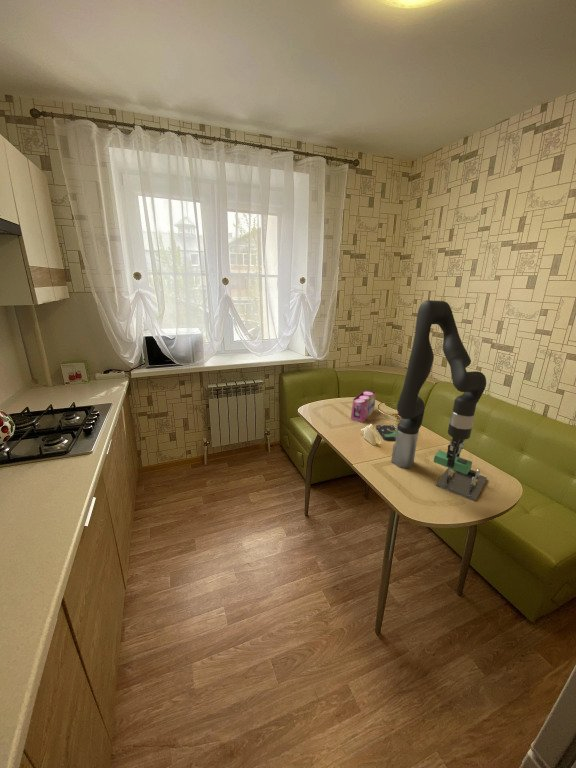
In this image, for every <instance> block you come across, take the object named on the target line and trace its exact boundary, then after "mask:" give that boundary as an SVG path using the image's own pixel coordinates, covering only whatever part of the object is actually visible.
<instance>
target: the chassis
mask: <svg viewBox="0 0 576 768" xmlns="http://www.w3.org/2000/svg"><path fill="white" fill-rule="evenodd" d="M480 473H481V469H479V468H477V469H476V470H473V469H472V468H471V469H470V471H469V472H468V474H467V475H466V474H464V473H461V472H459V471H456V470H453V469H451V468H448V467H447V469H445V471H444V472H443V474H442V475H441V477H440V478H439V479H438V481H436V483H435V486H436V487H438V488H441V489H444V490H446V491H449V492H451V493H453V494H455V495H458V496H461V497H463V498H466V499H469V500H471V501H473V502H476V501H477V499H478V497H479V495H480V494H481V491H482V489H483V487H484V485H485V483H486V481H487V479H488V477H486V476H484V475H481V474H480Z"/></svg>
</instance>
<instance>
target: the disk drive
mask: <svg viewBox="0 0 576 768" xmlns="http://www.w3.org/2000/svg"><path fill="white" fill-rule="evenodd" d="M375 429H376V431H377V430H378V431H377V432H378V434H379V435H380V436H381V438H382V439H383V440H384V441H396V434H397V431H396V430H395V429H397V428H396V427H395V425H393V424H392V425H391V424H389V425H386V424H385V425H379V424H378V425H376V427H375Z"/></svg>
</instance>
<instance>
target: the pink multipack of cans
mask: <svg viewBox="0 0 576 768" xmlns="http://www.w3.org/2000/svg"><path fill="white" fill-rule="evenodd" d="M376 396H377V392H376V391H372V390H367V389H364V390H363V391H362V392H361V393H359V394H358V395H357V396H355V397H354V398H353V399H352V406H351V414H350V420H351V419H352V420H351V421H355V420H356V421H357V422H360V423H363V422H364V421H366V420H367V419H368V417H369V416H371V415H372V414H373V413H374V412H375V405H376ZM373 411H374V412H373ZM372 412H373V413H372ZM371 413H372V414H371ZM356 421H355V422H356Z"/></svg>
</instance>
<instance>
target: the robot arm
mask: <svg viewBox="0 0 576 768" xmlns="http://www.w3.org/2000/svg"><path fill="white" fill-rule="evenodd" d="M415 322H416V323H415V329H414V336H413V337H414V338H413V342H412V347H411V351H410V356H409V360H408V364H407V370H406V372H405V373H406V374H405V377H404V381H403V386H402V389H401V393H400V396H399V399H398V401H397V404H396V411H397V414H398V415H399V417H400V418H401V419H400V421H399V422H398V423H397V428H396V429H397V434H396V440H395V442H394V443H393V446H392V453H391V460H390V461H391V462H392V463H394V465H395V466H397V467H399V468H404V469H409V468H413V466H414V462H415V457H416V451H417V443H418V438H419V433H420V428H421V426H422V424H423V419H424V415H425V410H426V409H425V402H424V401H423V399H422V397H420V396H419V393H420V391H421V389H422V387H423V385H424V384H425V382H426V381H427V379H428V377H429V375H430V373H431V370H432V367H433V363H434V358H435V356H434V350H433V348H432V345H431V341H430V340H431V339H430V334H431V329H432V325H438V326H439V328H440V330H441V331H442V334H443V341H442V350H443V355H444V356H445V358H446V361H447V363H448V365H449V367H450V375H451V381H452V384H453V385H452V386H454V388H455V390H457V391H459V392H460V393H461V392H462V394H460V395H458V396H455V397H456V398H455V399H454V402H453V407H452V413H451V415H450V418H449V424H448V429H447V434H448V435H449V436H450V437H451V438H452V439H450V440H449V444H448V445H447V451H446V453H447V456H446V457H447V458H448V462H447V466H448V467H451V468H453V467H454V462H455V459H456V456H457V457H461V456H460V455H461V453H462V451H463V449H464V444H465V441H466V440H469V439H470V438H471V434H472V430H473V425H474V421H475V420H474V419H475V413H476V409H477V404H478V403H479V401H480V399H481V397H482V395H483V393H484V391H485V390H486V387H487V378H486V375H485V374H484V373H483V372H481V371H477V370H476V371H467V369H466V368H467V367H469V366H470V365H471V363H472V360H471V357H470V355H469V353H468V351H467V350H466V347H465V346H464V344H463V342H462V339H461V337H460V333H459V330H458V328H457V323H456V320H455V317H454V314H453V311H452V308H451V306H450V304H449V303H448V302H446V301H444V300H429V299H428V300H424V301H422V302H421V304H420V305H419V307H418V310H417V314H416V321H415ZM452 455H453V456H452ZM448 467H447V468H448Z"/></svg>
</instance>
